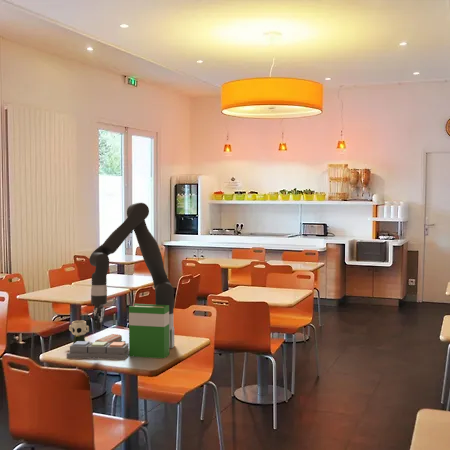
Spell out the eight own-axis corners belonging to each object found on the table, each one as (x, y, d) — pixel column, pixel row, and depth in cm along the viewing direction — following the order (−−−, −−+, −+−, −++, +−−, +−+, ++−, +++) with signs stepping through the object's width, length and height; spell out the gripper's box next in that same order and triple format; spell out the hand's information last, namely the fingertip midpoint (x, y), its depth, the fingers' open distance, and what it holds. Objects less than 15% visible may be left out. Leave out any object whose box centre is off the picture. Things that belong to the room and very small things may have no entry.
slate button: (89, 345, 286) (89, 341, 286) (85, 348, 280) (85, 344, 280) (77, 345, 287) (77, 341, 287) (73, 348, 281) (73, 344, 281)
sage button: (107, 345, 285) (107, 341, 285) (103, 348, 280) (103, 344, 279) (95, 345, 286) (95, 341, 286) (91, 348, 280) (91, 344, 280)
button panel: (131, 352, 288) (131, 342, 287) (124, 359, 276) (124, 348, 275) (75, 351, 290) (75, 341, 290) (66, 357, 278) (66, 347, 278)
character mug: (65, 348, 296) (65, 322, 296) (73, 344, 303) (72, 319, 303) (85, 349, 293) (85, 323, 293) (92, 346, 300) (92, 321, 300)
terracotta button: (125, 346, 285) (125, 342, 285) (122, 349, 279) (122, 345, 279) (113, 346, 285) (113, 341, 285) (109, 349, 279) (109, 344, 279)
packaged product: (109, 332, 312) (125, 334, 308) (109, 341, 312) (125, 343, 308) (89, 340, 295) (106, 342, 291) (89, 349, 295) (106, 351, 292)
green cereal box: (129, 356, 281) (128, 306, 280) (135, 352, 288) (134, 303, 287) (164, 358, 277) (164, 307, 276) (169, 354, 284) (169, 305, 283)
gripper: (102, 296, 275) (102, 332, 276) (110, 292, 288) (110, 327, 289) (86, 295, 276) (86, 332, 276) (95, 291, 289) (95, 326, 290)
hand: (98, 329), depth 283 cm, fingers closed
